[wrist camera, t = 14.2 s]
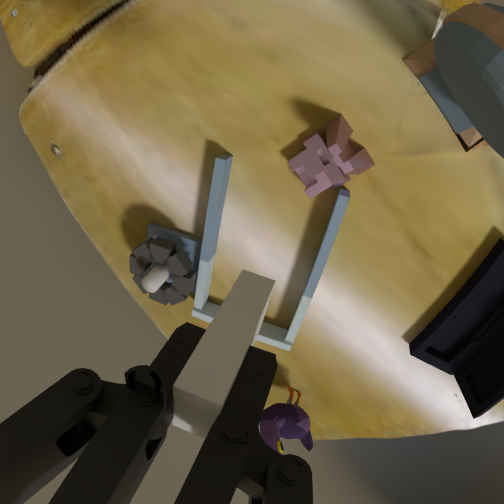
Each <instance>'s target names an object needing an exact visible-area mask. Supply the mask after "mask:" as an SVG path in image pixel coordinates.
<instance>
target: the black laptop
mask: <svg viewBox="0 0 504 504" xmlns="http://www.w3.org/2000/svg"><path fill="white" fill-rule="evenodd" d="M409 348H410V355H412V356H414V357H416V358H418V359H420V360H422V361H424V362H426V363H428V364H430V365H432V366H434V367H436V368H438V369H440V370H442V371H444V372H446V373H448V374H450V375H454V377H455V379H456V381H457V383H458V385H459V387H460V389H461V392H462V394H463V396H464V398H465V400H466V403H467V405H468V407H469V409H470V412H471V414H472V416H473V419H474V418H477V417H480V416H481V415H483V414H484V413H485V412H487V411H488V410H489V409H491V408H492V407H493V406H495V405H496V404H497V403H499V402H500V401H501V400H502V399H504V241H503V240H502V239H501V238H500V239H499V240H498V242H497V243H496V245H495V246H494V247H493V249H492V250H491V251H490V253H489V254H488V255H487V257H486V258H485V259H484V261H483V262H482V263H481V265H480V266H479V267H478V268H477V270H476V271H475V272H474V273H473V275H472V276H471V277H470V278H469V280H468V281H467V282H466V283H465V284H464V286H463V287H462V288H461V289H460V290H459V292H458V293H457V294H456V295H455V296H454V297H453V298H452V300H451V301H450V302H449V303H448V304H447V305H446V306H445V307H444V309H443V310H442V311H441V312H440V313H439V314H438V315H437V316H436V317H435V318H434V319H433V320H432V321H431V323H430V324H429V325H428V326H427V327H426V328H425V329H424V330H423V331H422V332H421V333H420V334H419V335H418V336H417V337H416V338H415V339H414V340H413V341H412V342H411V343H410V344H409Z"/></svg>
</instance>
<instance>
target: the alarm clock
mask: <svg viewBox="0 0 504 504" xmlns="http://www.w3.org/2000/svg"><path fill="white" fill-rule="evenodd" d="M403 61H404V62H405V63H406V65H407V66H408V67H409V68H410V70H411V71H412V72H413V73H414V75H415V76H416V77H417V79H418V80H419V81H420V83H421V84H422V85H423V87H424V88H425V89H426V91H427V92H428V93H429V95H430V96H431V98H432V99H433V101H434V102H435V103H436V105H437V106H438V108H439V109H440V111H441V112H442V114H443V115H444V117H445V118H446V120H447V122H448V123H449V125H450V126H451V128H452V130H453V131H454V133H455V134H456V136H457V138H458V139H459V141H460V143H461V145H462V146H463V148H464V150H465V152H468V151H469V150H470V149H472V148H473V147H475V146H476V145H477V144H479V143H480V142H481V141H483V140H484V139H485V141H486V142H487V143H488V144H489V145H490V146H491V147H492V148H493V149H494V150H495V151H496V152H497V153H498V154H499V155H500V156H501V157H503V158H504V7H503V6H499V5H494V4H490V3H485V4H481V5H480V4H475V3H472V4H468V5H464V6H462V7H461V8H459V9H457V10H456V11H454V12H453V13H451V14H449V15H448V16H446V18H445V20H444V21H443V23H442V28H441V29H440V30H439V31H438V33H437V34H436V37H435V38H434V39H432V40H431V41H429V42H428V43H426V44H425V45H423V46H422V47H420V48H419V49H417V50H416V51H415V52H413V53H412V54H410V55H409V56H407V57H406V58H405V59H403Z"/></svg>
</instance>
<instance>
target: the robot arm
mask: <svg viewBox="0 0 504 504" xmlns="http://www.w3.org/2000/svg"><path fill="white" fill-rule="evenodd" d="M274 284H275V280H272V279H269V278H266V277H263V276H260V275H257V274H255V273H252V272H249V271H246V270H242V271H241V273H240V275H239V276H238V278H237V280H236V281H235V283H234V285H233V287H232V288H231V290H230V292H229V293H228V295H227V297H226V298H225V300H224V302H223V303H222V305H221V307H220V308H219V310H218V312H217V313H216V315H215V317H214V318H213V320H212V322H211V323H210V325H209V327H208V328H207V330H205V329H203V328H200V327H198V326H195V325H193V324H190V323H188V322H186V323H185V324H183V325H181V326H180V327H178V328H176V330H175V331H174V332H173V334H172V335H171V337H170V338H169V340H168V341H167V342H166V344H165V345H164V347H163V348H162V349H161V351H160V352H159V354H158V355H157V357H156V358H155V359H154V361H153V362H152V364H151V365H150V366H147V365H139V366H135V367H132V368H130V369H129V370H128V371H127V372H125V379H126V384H117V383H112V382H108V381H103V380H101V379H100V377H99V376H98V375H97V373H95V372H94V371H92V370H90V369H86V368H80V369H75V370H73V371H71V372H70V373H68V374H67V375H65V376H64V377H63V378H61V379H60V380H59V381H57V382H56V383H55V384H53V385H52V386H50V387H49V388H48V389H46V390H45V391H44V392H42V393H41V394H40V395H38V396H37V397H36V398H34V399H33V400H32V401H30V402H29V403H27V404H26V405H25V406H23V407H22V408H21V409H20V410H18V411H17V412H15V413H14V414H13V415H11V416H10V417H9V418H7V419H6V420H5V421H3V422H2V423H1V424H0V504H23V503H24V502H25V501H27V500H28V499H29V498H30V497H32V496H33V495H34V494H35V493H37V492H38V491H39V490H40V489H41V488H43V487H44V486H45V485H46V484H48V483H49V482H50V481H51V480H53V479H54V478H55V477H56V476H57V475H58V474H60V473H61V472H62V471H63V470H64V469H66V468H67V467H68V466H69V465H70V464H71V463H73V462H74V461H75V460H76V459H77V458H78V460H77V462H76V463H75V464H74V466H73V467H72V469H71V470H70V472H69V473H68V475H67V476H66V478H65V479H64V481H63V482H62V484H61V485H60V487H59V488H58V490H57V491H56V493H55V494H54V496H53V497H52V499H51V500H50V502H49V504H129V503H130V501H131V499H132V498H133V496H134V494H135V493H136V491H137V489H138V487H139V485H140V484H141V482H142V480H143V478H144V476H145V475H146V473H147V471H148V469H149V467H150V465H151V464H152V462H153V460H154V458H155V456H156V455H157V453H158V451H159V449H160V447H161V446H162V444H163V442H164V440H165V438H166V435H167V429H168V427H169V425H170V423H171V422H172V420H173V425H175V426H177V427H179V428H182V429H184V430H186V431H188V432H191V433H194V434H196V435H198V436H201V437H203V438H206V439H205V441H204V443H203V445H202V447H201V449H200V451H199V454H198V455H197V458H196V460H195V462H194V464H193V466H192V468H191V470H190V472H189V474H188V476H187V478H186V480H185V483H184V484H183V486H182V488H181V491H180V493H179V495H178V497H177V499H176V501H175V503H174V504H230V502H231V500H232V497H233V495H234V492H235V490H236V487H237V488H239V489H240V490H242V491H243V492H245V493H246V494H247V495H249V504H313V486H312V472H311V468H310V466H309V465H308V464H307V462H306V461H305V460H304V459H302V458H300V457H299V456H296V455H291V454H287V455H282V454H280V453H279V452H277V451H276V450H274V449H273V448H271V447H270V446H269V445H267V444H266V443H265V442H264V440H263V439H262V438H261V435H260V433H259V421H260V418H261V415H262V412H263V409H264V406H265V403H266V400H267V397H268V394H269V391H270V388H271V385H272V382H273V379H274V376H275V373H276V370H277V360H276V355H275V354H273V353H270V352H267V351H264V350H262V349H259V348H256V347H253V345H254V342H255V340H256V338H257V335H258V333H259V330H260V328H261V325H262V322H263V319H264V316H265V313H266V310H267V307H268V303H269V300H270V297H271V294H272V291H273V288H274Z"/></svg>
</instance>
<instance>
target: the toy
mask: <svg viewBox="0 0 504 504" xmlns="http://www.w3.org/2000/svg"><path fill="white" fill-rule="evenodd" d="M288 390H289V392H290V396H289V399H288V401H287V403H286V404H284V403H276V404H273V405H272V406H270V407H268V408H266V409H265V410H263V412H262V415H261V418H260V424H259V426H260V435H261V438H262V439H263V440H264V442H265V443H266V444H267V445H269V446H270V447H271V448H273V449H274V450H276V451H277V452H279V453H280V454H282V453H283V451H284V450H283V445H282V442H281V441H280V438H279V437H282V438H285V439H300V440H301V442H302V443H303V445H304V446H305V447H306V449H307V450H308V451H310V450H311V449H312V447H313V442H312V436H311V432H310V419H309V416H308V415H307V413H306V412H305V411H304V410H303V409H302V408H300V407H299V406H298V402H299V399H300V396H301V394H300V393H299V392H297V394H298V398H297V400H296V402H295V403H294V404H292V398H293V394H294V390H292V389H291V388H290V387H289V388H288Z"/></svg>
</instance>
